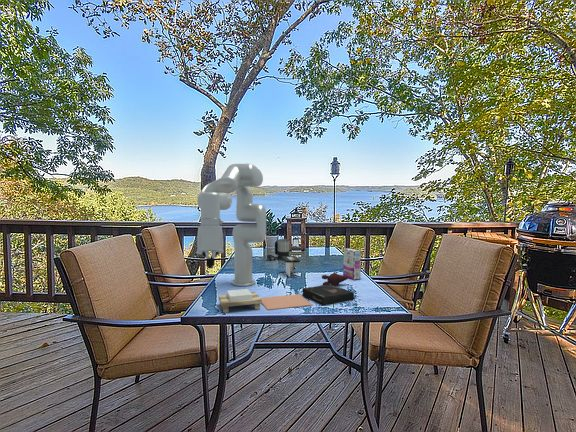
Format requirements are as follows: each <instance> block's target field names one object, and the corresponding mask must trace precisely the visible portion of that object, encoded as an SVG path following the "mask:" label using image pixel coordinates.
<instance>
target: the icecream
mask: <svg viewBox="0 0 576 432" xmlns="http://www.w3.org/2000/svg"><path fill="white" fill-rule="evenodd" d="M321 279H323V280H327V281H324V282H323V283H322V285H328V284H332V285H335V286H337V287H339V284H340V283H343V282H344V281H346V280H348V279H350V278H349V277H347V276H343V275H342V274H338V273H337V272H333V273H331V274H330V275H327V274H322V275H321Z"/></svg>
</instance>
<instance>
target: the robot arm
mask: <svg viewBox="0 0 576 432" xmlns="http://www.w3.org/2000/svg"><path fill="white" fill-rule="evenodd" d="M263 181H264V176H263V173H262V171H261V170H260V169H259V168H258V167H257V166H256V165H254V164H252V163H232V164H230V165H228V167H227V168H226V169H225V171H224V173H223V174H222V176H221V177H220V178H218V179H215V180H213V181H212V182H210V183H207V184H206V185H205V186H204V187H203V188H202V189H201V191H200V192H199V194H198V197H197V199H196V200H197V201H196V202H197V206H198V207H199V208H200V225H199V226H198V228H197V238H196V239H197V240H196V241H197V242H196V248H197V249H196V254H198V255H202V256H203V257H205V258H206V265H205V266H206V267H207V269H208V270H209V269H212V270H213V268H214V267H215V258H216V257H218V255H220V254H223V253H224V252H225V250H224V236H223V235H224V233H223V228H222V224H224V219H221V218H220V217H221V212H220V211H226V210H227V211H228V210H229V209H230V208H231V207H232V205H233V199H232V196H231V195H230V193H233V192H235V193H236V208H235V209H236V212H235V213H236V214H235V216H236V219H237V221H239V222H245V223H246V222H248V224H247V223H246V224H244V223H243V224H236V225H235V226H234V227H233V229H232V238H233V246H234V254H233V255H234V257H233V258H234V263H233V264H234V265H233V266H234V269H233V270H234V279H233V280H231V284H232V285H233V286H237V287H247V286H254V285H255V284H256V280H255V279H253V248H252V246H251V245H250V243H251V244H252V243H256V244H260V243H261V244H262V243H263V242H264V241H265V239H266V235H267V210H266V207H265V205H263V204H260V203H254V201H253V200H254V196H253V192H252V191H251V190H250V188H249V187H252V188H253V187H254V188H255V187H260V186H261V185H262V184H263ZM249 223H256V224H249ZM209 252H211V255H210V254H209Z"/></svg>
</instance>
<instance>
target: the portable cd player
mask: <svg viewBox="0 0 576 432" xmlns="http://www.w3.org/2000/svg"><path fill="white" fill-rule="evenodd" d="M302 297H304V298H305V299H306V298H307V300H311V301H313V302H314V303H316V304H319V305H321V306H324V307H325V306H329V305H333V304H339V303H340V304H341V303H344V302H345V303H346V302H349V301H354V300H355V296H354V292H353V291H350V290H348V289H345V288H343V287H340V286H337V285H336V286H335V285H332V284H328V285H323V284H322V285H317V286H315V285H314V286H309V287H305V288H302Z"/></svg>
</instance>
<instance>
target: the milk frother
mask: <svg viewBox="0 0 576 432" xmlns="http://www.w3.org/2000/svg"><path fill="white" fill-rule="evenodd" d="M275 255H277V257H276V256H275ZM282 256H290V239H288V238H278V239H277V240H276V241H275V242H274V255H272V254H267V255H266V258H267V259H268V260H269V261H276V260H278V261H284V260H283V259H282Z"/></svg>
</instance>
